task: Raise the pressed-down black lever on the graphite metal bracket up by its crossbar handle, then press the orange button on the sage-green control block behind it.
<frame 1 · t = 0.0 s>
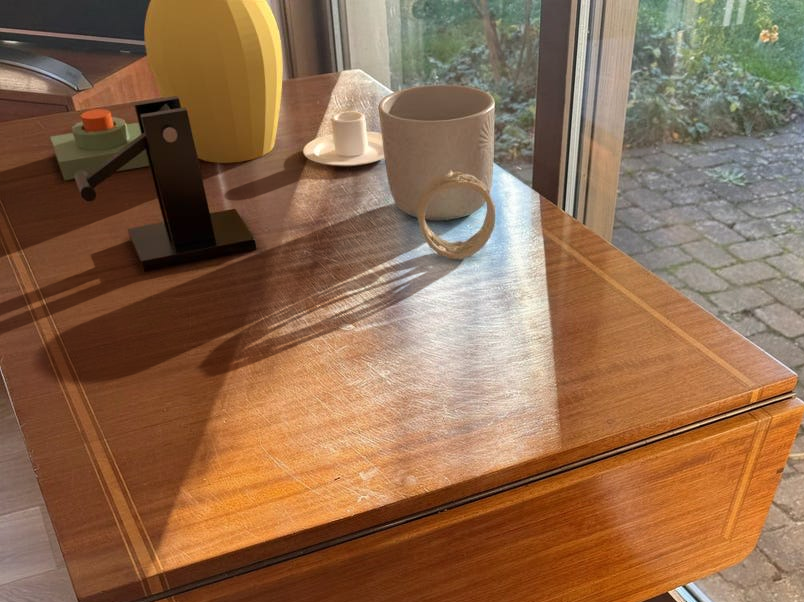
control block: (108, 159, 125), on the table
bracket: (192, 244, 106), on the table
candle holder: (351, 155, 125), on the table
planter: (442, 208, 112), on the table
lever: (127, 153, 98), point 10 cm above the table, hinge at -25.0°
bracelet: (458, 254, 103), on the table
vase: (234, 150, 127), on the table
button: (97, 121, 122), point 4 cm above the table, slide at 0.1 cm
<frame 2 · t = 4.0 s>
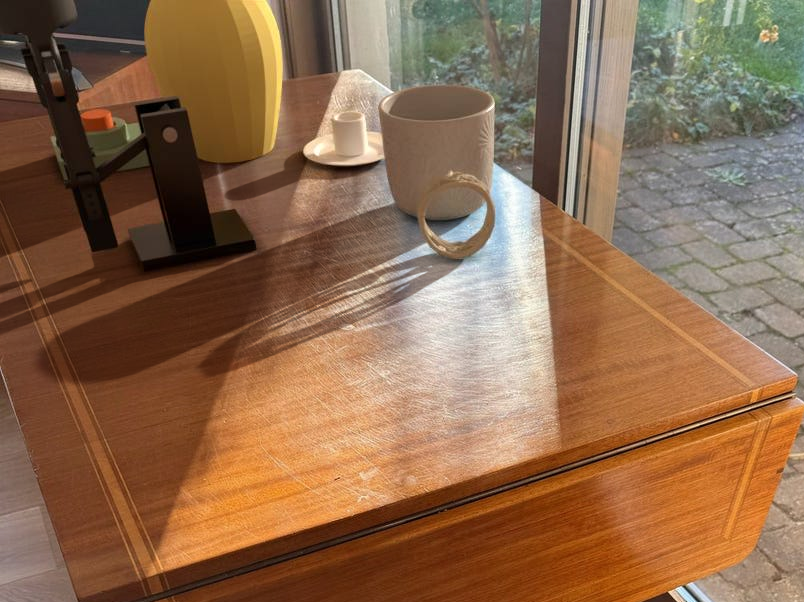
hand: (100, 237, 102), 3 cm above the table, tool pointing down, fingers closed on lever, 5 cm apart
lever: (127, 153, 98), point 10 cm above the table, hinge at -25.0°, touching gripper
everything else where it was.
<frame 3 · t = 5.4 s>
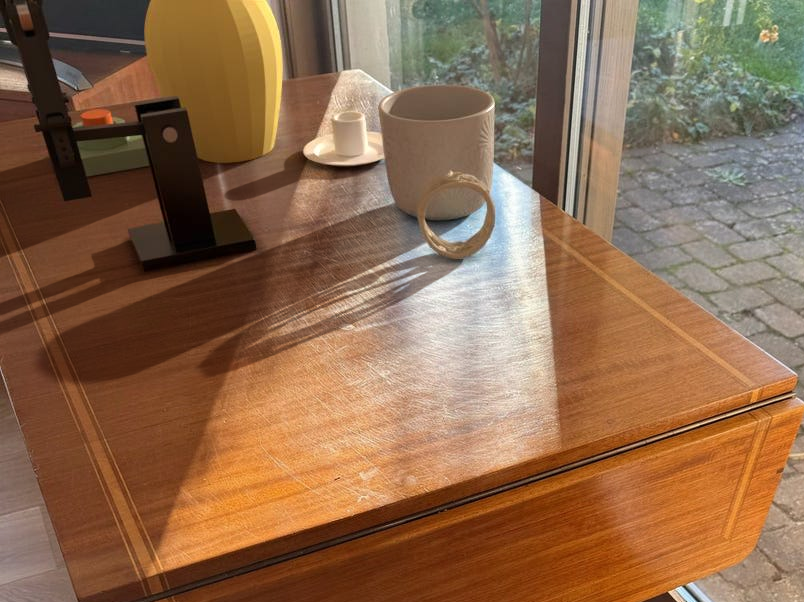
hand: (74, 187, 98), 8 cm above the table, tool pointing down, fingers closed on lever, 5 cm apart
lever: (116, 130, 96), point 12 cm above the table, hinge at 3.4°, touching gripper
everything else where it was.
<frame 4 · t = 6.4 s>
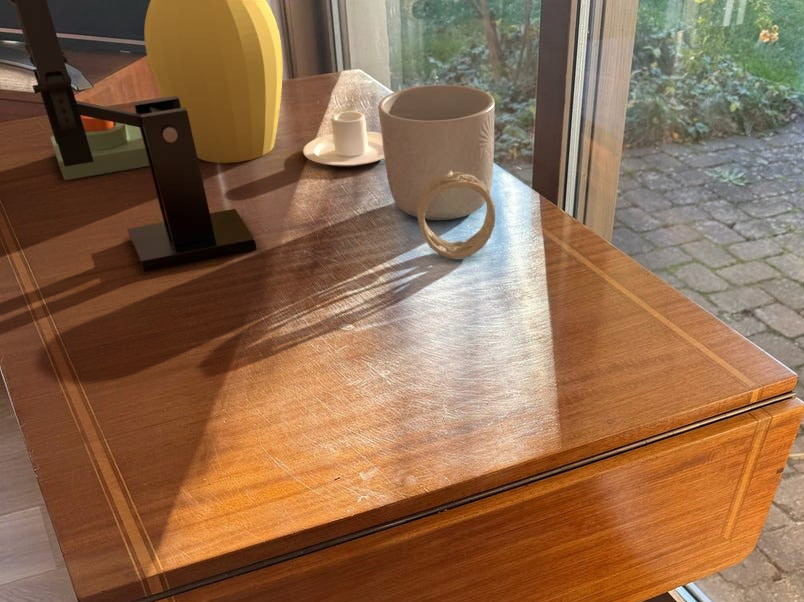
hand: (74, 151, 96), 11 cm above the table, tool pointing down, fingers open, 6 cm apart
lever: (115, 115, 96), point 14 cm above the table, hinge at 19.9°
everything else where it was.
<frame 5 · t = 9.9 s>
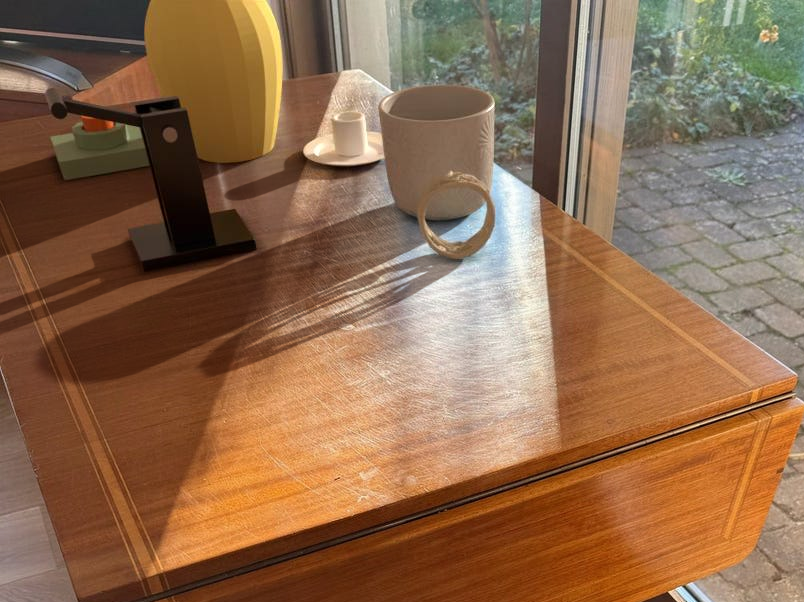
nothing on the table moved.
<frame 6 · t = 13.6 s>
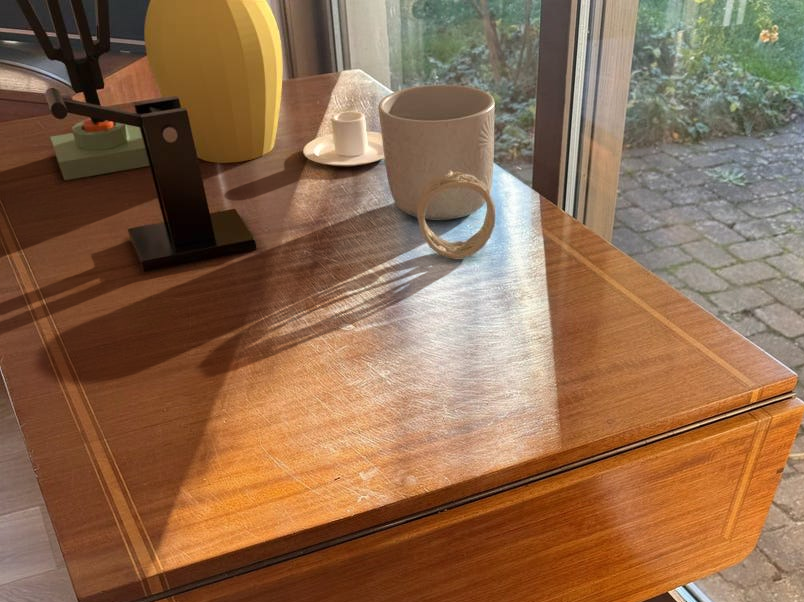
hand: (97, 119, 122), 5 cm above the table, tool pointing down, fingers closed
button: (99, 128, 123), point 4 cm above the table, slide at -0.8 cm, touching gripper
everything else where it was.
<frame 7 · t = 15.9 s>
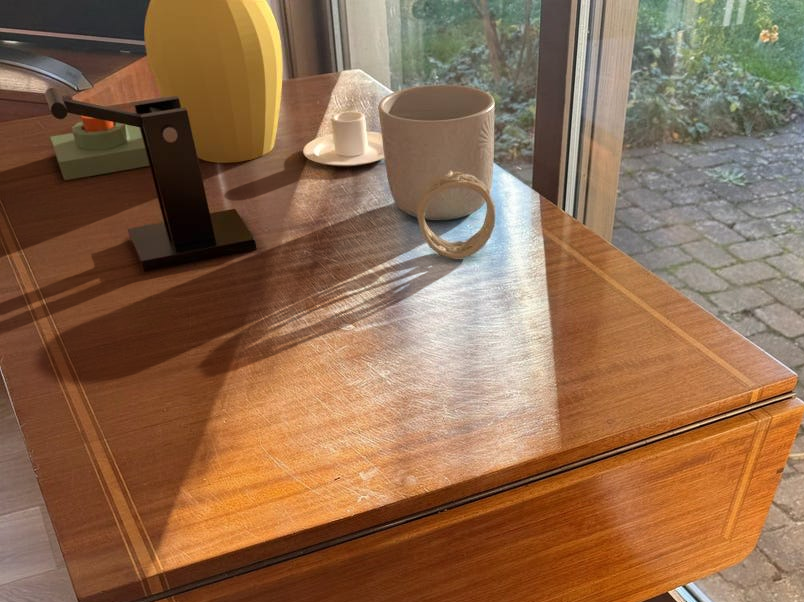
button: (97, 121, 122), point 4 cm above the table, slide at 0.1 cm
everything else where it was.
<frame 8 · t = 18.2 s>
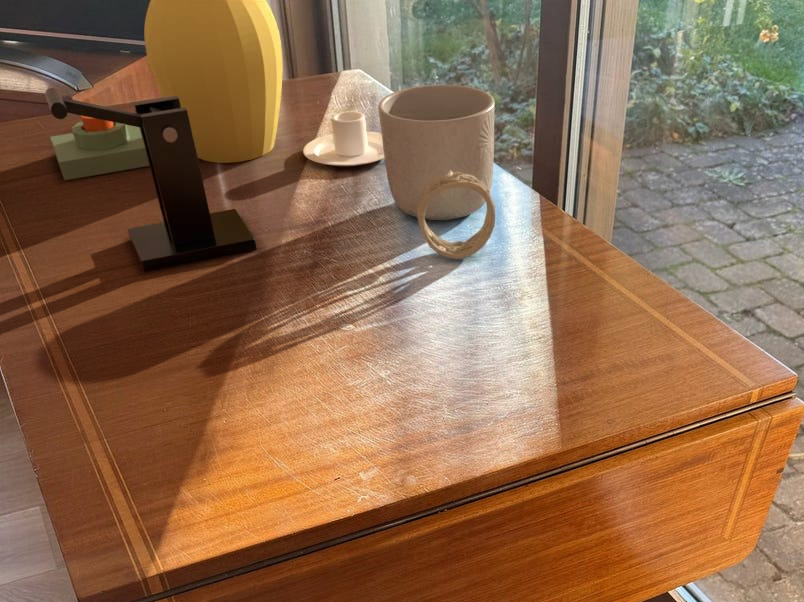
nothing on the table moved.
at the end: lever at +20° (first picture: -25°); button pushed in 1.0 cm at the most during the clip, back to where it started at the end; button slide at 0.1 cm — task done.
